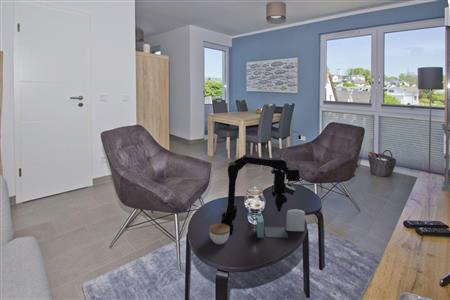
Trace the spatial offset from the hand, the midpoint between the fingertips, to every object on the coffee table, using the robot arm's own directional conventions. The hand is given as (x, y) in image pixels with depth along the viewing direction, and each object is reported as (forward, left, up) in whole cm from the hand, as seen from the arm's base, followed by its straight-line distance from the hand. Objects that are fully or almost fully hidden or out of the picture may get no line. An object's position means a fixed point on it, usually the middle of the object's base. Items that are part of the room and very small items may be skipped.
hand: (277, 208), depth 164 cm
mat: (-1, -1, -15) cm, 15 cm away
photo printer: (+11, +3, -15) cm, 19 cm away
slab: (-10, -2, -15) cm, 18 cm away
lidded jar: (-32, -11, -15) cm, 37 cm away
